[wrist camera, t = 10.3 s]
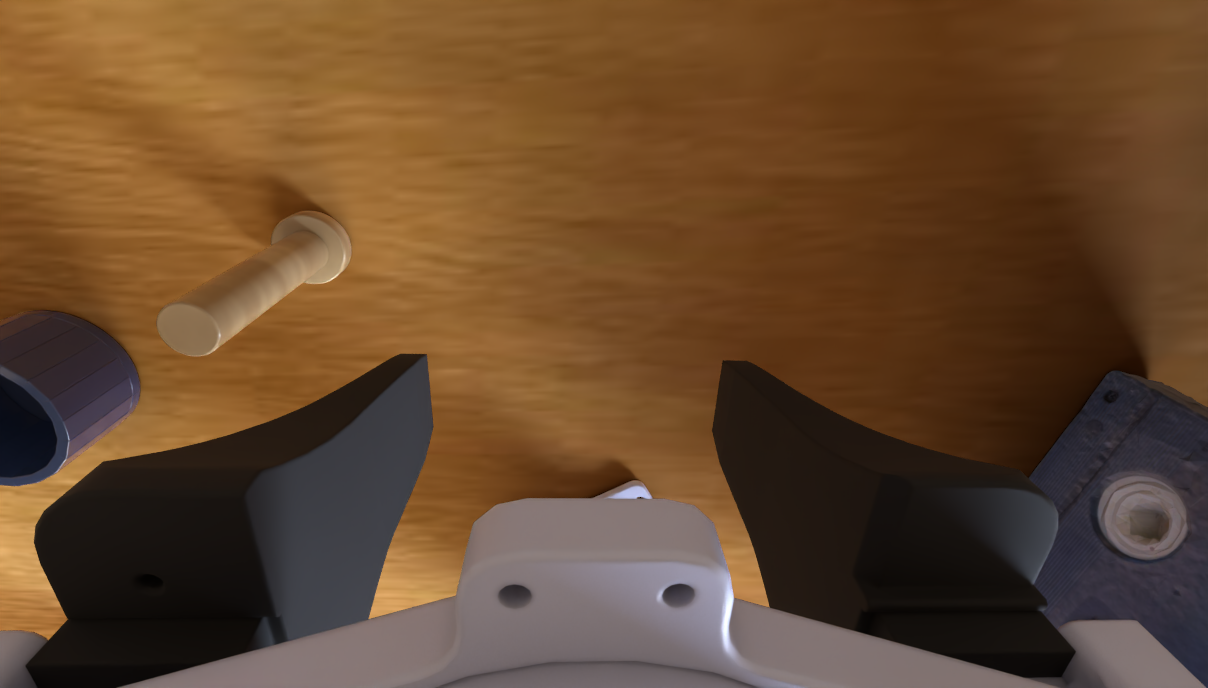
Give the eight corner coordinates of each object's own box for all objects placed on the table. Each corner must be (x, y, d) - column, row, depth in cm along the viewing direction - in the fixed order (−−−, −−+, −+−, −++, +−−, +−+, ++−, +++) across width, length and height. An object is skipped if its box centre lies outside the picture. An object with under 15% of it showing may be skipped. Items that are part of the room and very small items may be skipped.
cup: (170, 394, 24) (102, 448, 20) (73, 447, 25) (-8, 507, 21) (62, 286, 22) (-34, 325, 18) (-40, 347, 23) (-150, 396, 19)
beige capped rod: (366, 258, 22) (265, 349, 15) (311, 289, 22) (186, 392, 15) (322, 197, 21) (189, 262, 14) (264, 230, 21) (106, 311, 14)
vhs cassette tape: (941, 647, 33) (1079, 861, 24) (897, 638, 33) (1022, 853, 24) (1164, 380, 26) (1477, 542, 17) (1113, 363, 26) (1408, 520, 17)
